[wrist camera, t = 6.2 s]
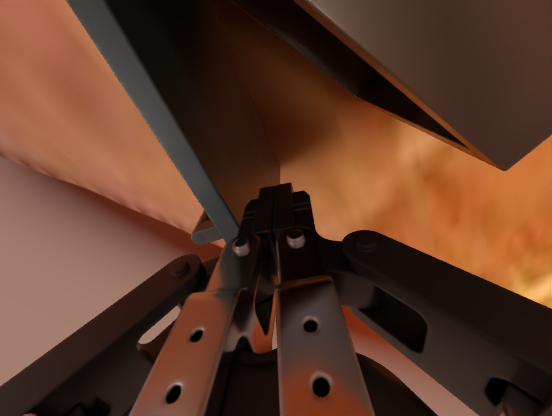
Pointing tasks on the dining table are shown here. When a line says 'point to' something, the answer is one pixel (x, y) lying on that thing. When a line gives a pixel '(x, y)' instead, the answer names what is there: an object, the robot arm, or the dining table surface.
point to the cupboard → (434, 64)
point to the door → (188, 100)
